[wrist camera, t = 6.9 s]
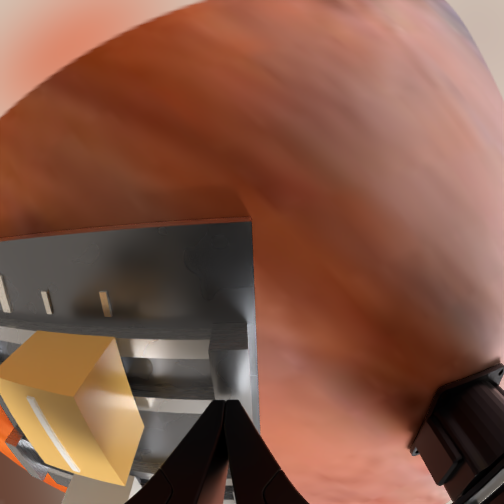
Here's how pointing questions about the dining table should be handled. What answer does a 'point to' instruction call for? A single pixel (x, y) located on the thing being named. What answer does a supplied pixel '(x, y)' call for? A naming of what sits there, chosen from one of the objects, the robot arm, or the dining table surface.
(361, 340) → the dining table surface
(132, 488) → the fader ivory
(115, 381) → the fader amber
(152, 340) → the console
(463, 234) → the dining table surface
